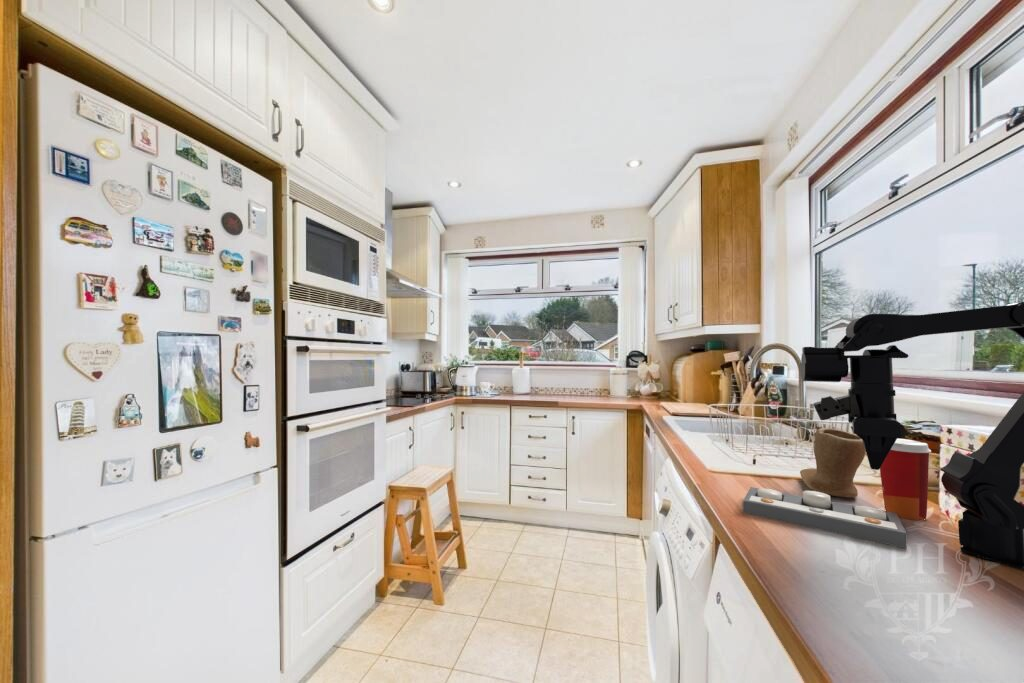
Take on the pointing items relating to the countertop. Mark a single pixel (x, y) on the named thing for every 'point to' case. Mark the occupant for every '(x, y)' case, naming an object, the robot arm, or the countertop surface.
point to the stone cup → (835, 463)
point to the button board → (827, 518)
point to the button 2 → (870, 513)
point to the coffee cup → (906, 479)
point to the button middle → (816, 499)
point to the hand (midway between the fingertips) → (874, 469)
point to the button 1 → (770, 494)
